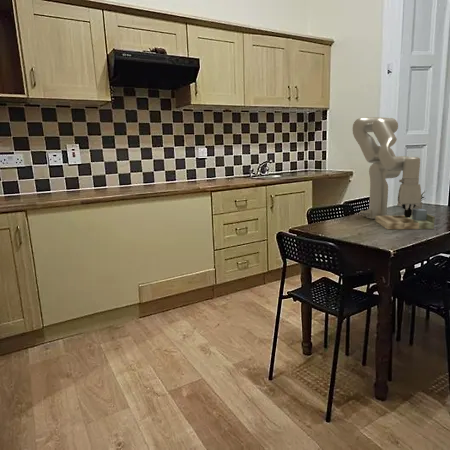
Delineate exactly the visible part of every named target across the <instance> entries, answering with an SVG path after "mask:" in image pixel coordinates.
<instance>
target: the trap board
mask: <svg viewBox="0 0 450 450" xmlns="http://www.w3.org/2000/svg"><path fill="white" fill-rule="evenodd" d="M435 219H436V217H435V216H433V215H431V214H429V213H427V218H426V220H414V219H412V214H411V216H410V218H409V217H408V218H407V217H405V215H402V214H401V215H400V214H399V215H389V216H376V219H374V221H375V223H377V224H379V225H380V226H382V227H383V228H385V229H386V230H433V229H435Z"/></svg>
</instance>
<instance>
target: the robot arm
mask: <svg viewBox="0 0 450 450" xmlns="http://www.w3.org/2000/svg"><path fill="white" fill-rule="evenodd" d="M398 129H399V122H398V121H397V120H396V119H395V118H393V117H384V116H383V117H381V116H371V117H368V116H366V117H359V118H356V119H355V120H354V122H353V124H352V135H353V137H354V139H355V141H356V142H357V144H358V146H359V147H360V150H361V152H362V155H363V156H364V158H365V160H366V162H367V163H369V164H371V165H370V167H369V169H368V172H369V173H368V174H369V185H370V187H369V206H368V208H367V209H366V210H360V211H359V213H360V215H365V218H367V219H372V220H376V216H390V215H389V214H388V198H389V184H388V182H387V179H394V178H397V177H399V176H400V174H401V172H402V178H400V179H399V180H398V181H399V183H401V184H400V186H399V189H398V193H397V206H398V207H401V208H402V209H404V212H403V214H404V215H405V217H407V218H408V217H409V218H410V216H411V215H412V214H413V213H412V210H413V208H414V207H415V206H419V205H420V203H421V202H422V201H421V200H422V199H421V194H422V187H421V184H419V182H420V181H419V180H420V178H419V177H420V167H421V158H420V156H419V157H418V156H409V155H408V156H406V155H403V156H402V155H401V156H399V155H397V156H396V154H395V152H394V151H393V149H392V148H391V147H392V146H394V145H395V144H396V142H397V136H396V135H395V133H396V132H397V131H398ZM369 133H373V134H374V136H375V138H376V140H377V142H378V144H379V145H378V144H377V142H376V141H375V138H374V137H373V136H372V135H370V134H369ZM408 204H409V207H408Z"/></svg>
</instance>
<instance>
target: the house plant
mask: <svg viewBox="0 0 450 450" xmlns="http://www.w3.org/2000/svg"><path fill="white" fill-rule="evenodd" d="M425 193H426V191H423V192H421V203H420V205H419V206H415V207H414V208H413V209H423V202H422V201H423V200H424V199H425V196H424V194H425ZM411 214H413V210H412V213H411Z"/></svg>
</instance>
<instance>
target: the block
mask: <svg viewBox="0 0 450 450" xmlns="http://www.w3.org/2000/svg"><path fill="white" fill-rule="evenodd" d="M427 214H428V210H427V209H425V208H421V209H413V213H411V215H412V219H414V220H426V218H427Z"/></svg>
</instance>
